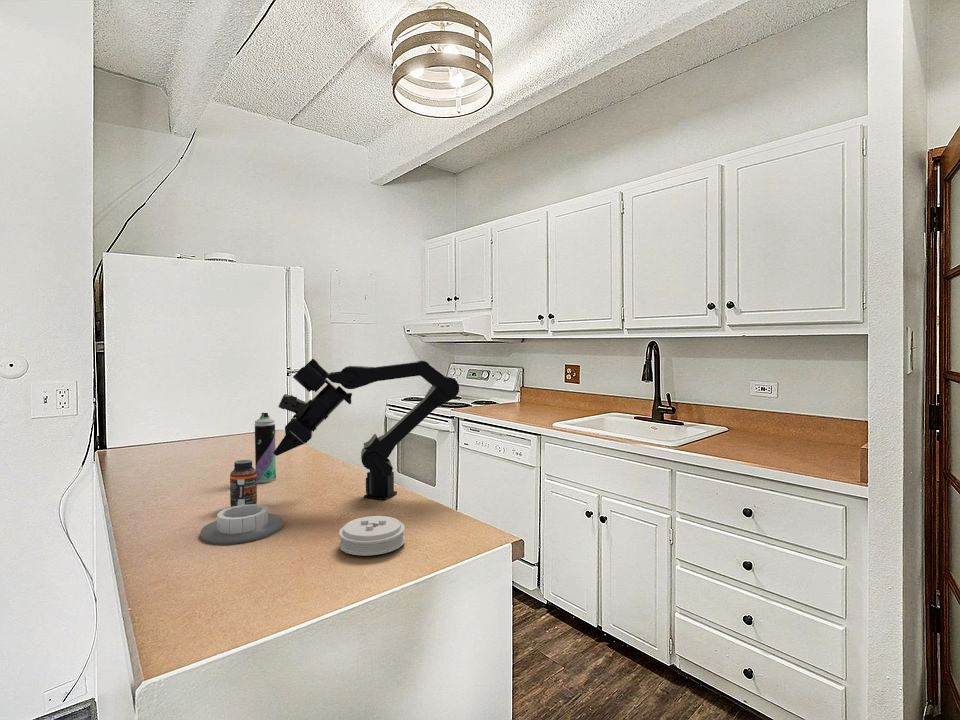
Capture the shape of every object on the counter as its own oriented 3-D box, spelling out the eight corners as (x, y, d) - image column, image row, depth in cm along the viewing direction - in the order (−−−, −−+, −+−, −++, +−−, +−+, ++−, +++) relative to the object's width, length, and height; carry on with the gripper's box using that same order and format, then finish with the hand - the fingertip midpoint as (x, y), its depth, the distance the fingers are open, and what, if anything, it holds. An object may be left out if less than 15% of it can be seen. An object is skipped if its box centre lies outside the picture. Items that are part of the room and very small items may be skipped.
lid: (350, 534, 106) (349, 511, 106) (409, 535, 106) (409, 511, 106) (330, 560, 94) (330, 533, 94) (398, 560, 93) (397, 534, 93)
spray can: (256, 483, 145) (255, 414, 144) (255, 479, 150) (253, 412, 149) (276, 481, 147) (275, 413, 147) (275, 477, 152) (273, 410, 152)
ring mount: (298, 521, 114) (298, 504, 114) (242, 549, 99) (242, 528, 99) (243, 513, 119) (243, 497, 119) (182, 538, 104) (182, 519, 104)
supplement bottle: (246, 511, 121) (245, 464, 120) (224, 510, 122) (223, 463, 122) (262, 503, 127) (261, 459, 126) (241, 502, 128) (240, 458, 128)
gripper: (302, 380, 136) (258, 423, 133) (295, 385, 118) (244, 435, 115) (333, 408, 138) (290, 451, 136) (330, 418, 120) (282, 467, 118)
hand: (277, 450), depth 126 cm, fingers open, 9 cm apart
